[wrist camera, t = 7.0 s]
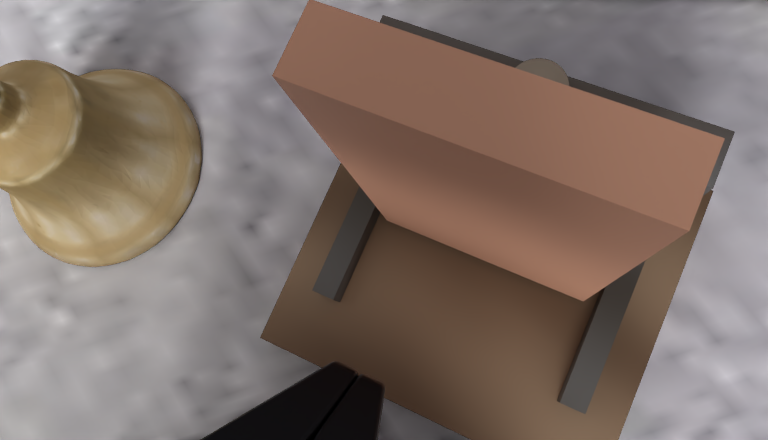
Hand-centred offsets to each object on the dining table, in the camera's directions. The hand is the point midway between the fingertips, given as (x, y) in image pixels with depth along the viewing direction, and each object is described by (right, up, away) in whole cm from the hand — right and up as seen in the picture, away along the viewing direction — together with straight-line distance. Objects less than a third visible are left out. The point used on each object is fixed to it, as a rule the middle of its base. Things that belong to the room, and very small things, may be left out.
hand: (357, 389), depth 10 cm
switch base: (+4, +1, +14) cm, 14 cm away
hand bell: (-11, +5, +17) cm, 21 cm away
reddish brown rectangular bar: (+4, +2, +12) cm, 13 cm away
